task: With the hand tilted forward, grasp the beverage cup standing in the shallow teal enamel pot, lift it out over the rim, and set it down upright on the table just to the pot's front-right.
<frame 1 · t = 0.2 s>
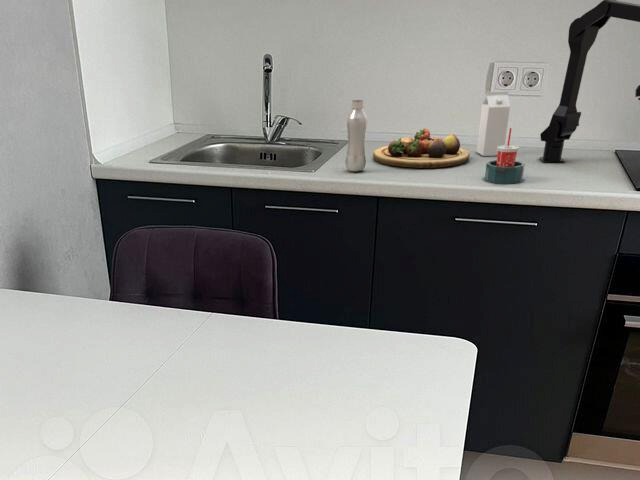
milk carton: (489, 154, 250), on the table
plastic bottle: (355, 171, 232), on the table
beverage cup: (503, 180, 218), resting in pot
pot: (503, 179, 218), on the table
wooden plate: (420, 160, 245), on the table
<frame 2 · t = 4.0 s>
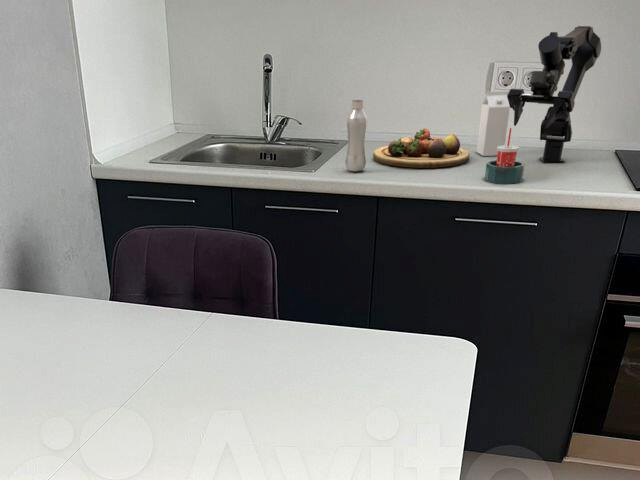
hand: (529, 126, 213), 14 cm above the table, tool tilted 45°, fingers open, 9 cm apart
nothing on the table moved.
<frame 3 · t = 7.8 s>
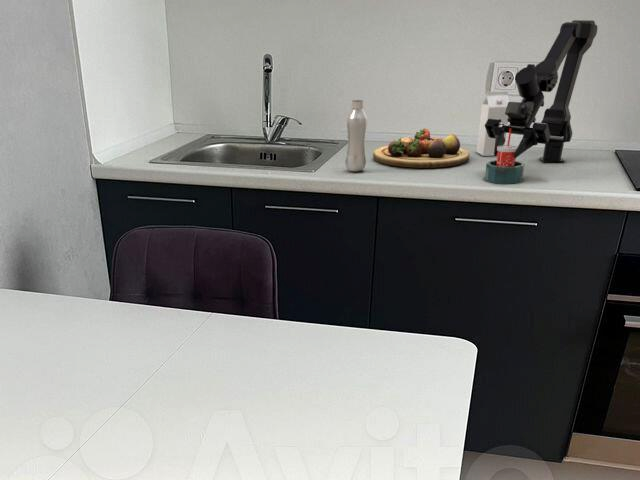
hand: (504, 156, 213), 7 cm above the table, tool tilted 45°, fingers closed on beverage cup, 6 cm apart
beverage cup: (503, 180, 218), resting in pot, touching gripper
everything else where it was.
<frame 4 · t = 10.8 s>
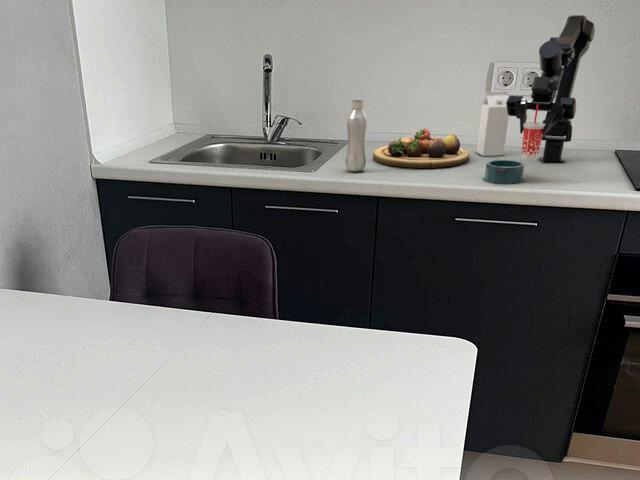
hand: (531, 133, 206), 13 cm above the table, tool tilted 45°, fingers closed on beverage cup, 6 cm apart
beverage cup: (529, 158, 211), point 6 cm above the table, touching gripper
everything else where it was.
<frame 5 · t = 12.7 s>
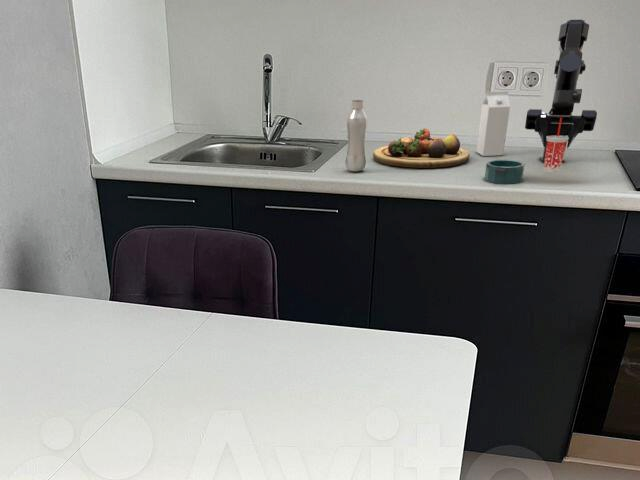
hand: (556, 146, 206), 10 cm above the table, tool tilted 45°, fingers closed on beverage cup, 6 cm apart
beverage cup: (551, 171, 211), point 3 cm above the table, touching gripper
everything else where it was.
when the fingers open (7 cm above the table, at t = 14.2 s): beverage cup stays where it is, on the table.
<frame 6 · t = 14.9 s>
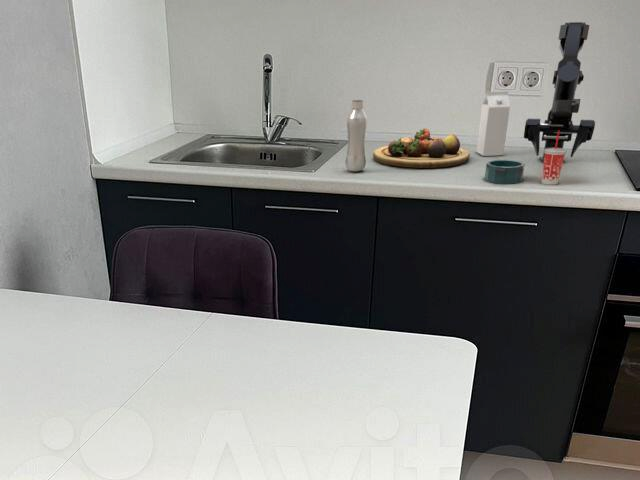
hand: (554, 155, 207), 8 cm above the table, tool tilted 45°, fingers open, 9 cm apart
beverage cup: (549, 183, 213), on the table
everything else where it was.
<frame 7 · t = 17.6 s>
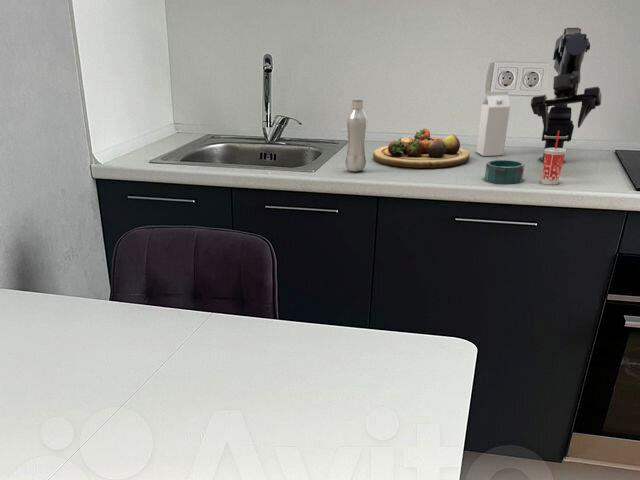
hand: (561, 129, 212), 13 cm above the table, tool tilted 35°, fingers open, 9 cm apart
nothing on the table moved.
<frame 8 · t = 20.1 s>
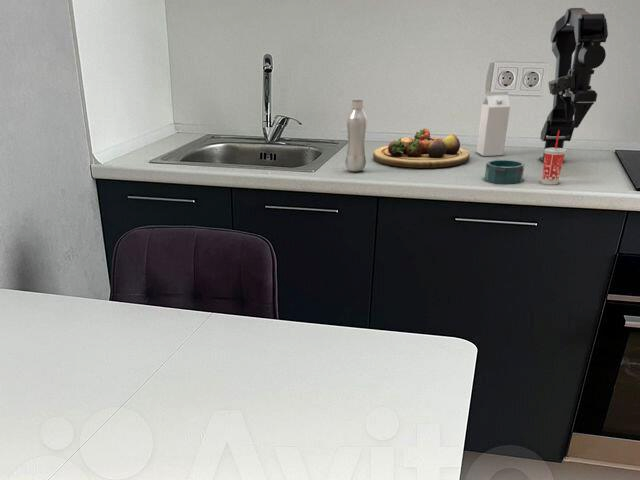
hand: (571, 125, 218), 13 cm above the table, tool pointing down, fingers open, 9 cm apart
nothing on the table moved.
at the end: beverage cup inside the target area (0.1 cm from its centre), on the table; beverage cup tilted 0°; the gripper is holding nothing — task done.
